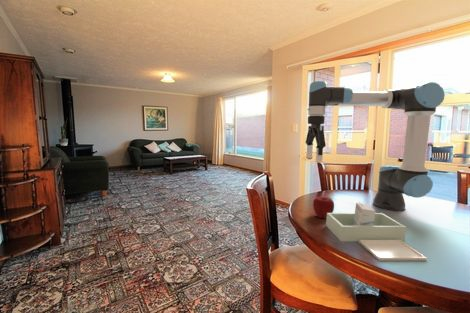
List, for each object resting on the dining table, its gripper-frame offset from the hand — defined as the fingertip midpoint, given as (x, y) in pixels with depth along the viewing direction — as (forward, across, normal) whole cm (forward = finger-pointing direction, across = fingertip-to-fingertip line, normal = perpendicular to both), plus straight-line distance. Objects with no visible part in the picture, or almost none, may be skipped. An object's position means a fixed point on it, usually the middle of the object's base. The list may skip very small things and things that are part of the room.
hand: (313, 159), depth 111 cm
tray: (+28, +33, +18) cm, 47 cm away
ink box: (+28, +19, +15) cm, 37 cm away
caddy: (+28, +19, +15) cm, 37 cm away
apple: (+28, +2, +5) cm, 29 cm away
